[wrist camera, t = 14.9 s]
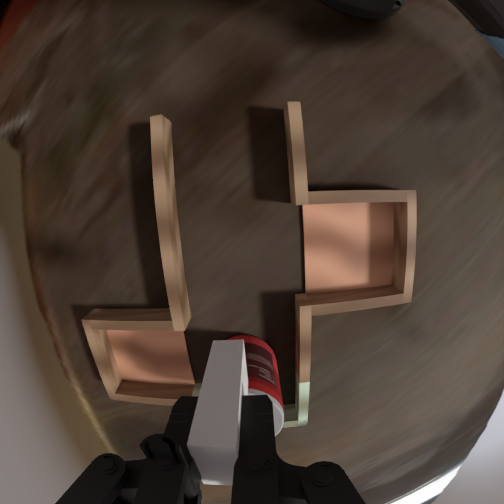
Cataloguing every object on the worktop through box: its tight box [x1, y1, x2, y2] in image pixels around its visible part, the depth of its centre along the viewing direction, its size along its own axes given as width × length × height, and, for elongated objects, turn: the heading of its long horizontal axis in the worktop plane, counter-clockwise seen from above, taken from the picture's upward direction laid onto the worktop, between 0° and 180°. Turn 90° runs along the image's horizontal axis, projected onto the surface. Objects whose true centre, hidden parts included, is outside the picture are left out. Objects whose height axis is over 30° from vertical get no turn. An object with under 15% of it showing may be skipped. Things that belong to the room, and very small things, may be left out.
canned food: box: [227, 335, 284, 436], centre depth 28 cm, size 8×8×11 cm
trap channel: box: [82, 102, 416, 428], centre depth 29 cm, size 38×38×4 cm
